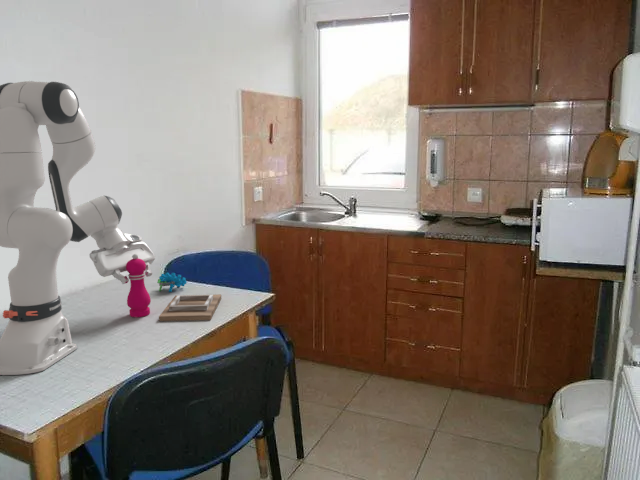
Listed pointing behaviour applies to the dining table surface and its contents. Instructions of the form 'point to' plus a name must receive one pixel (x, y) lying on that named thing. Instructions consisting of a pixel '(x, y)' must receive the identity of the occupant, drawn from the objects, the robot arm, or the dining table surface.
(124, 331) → the dining table surface
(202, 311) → the walnut board
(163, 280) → the toy dinosaur
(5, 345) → the robot arm
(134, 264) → the pepper mill
